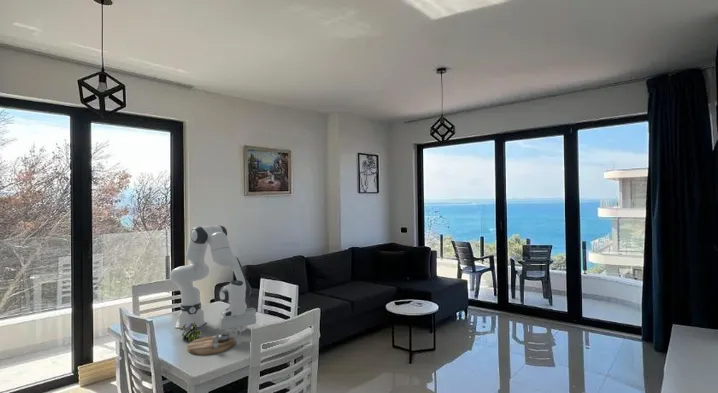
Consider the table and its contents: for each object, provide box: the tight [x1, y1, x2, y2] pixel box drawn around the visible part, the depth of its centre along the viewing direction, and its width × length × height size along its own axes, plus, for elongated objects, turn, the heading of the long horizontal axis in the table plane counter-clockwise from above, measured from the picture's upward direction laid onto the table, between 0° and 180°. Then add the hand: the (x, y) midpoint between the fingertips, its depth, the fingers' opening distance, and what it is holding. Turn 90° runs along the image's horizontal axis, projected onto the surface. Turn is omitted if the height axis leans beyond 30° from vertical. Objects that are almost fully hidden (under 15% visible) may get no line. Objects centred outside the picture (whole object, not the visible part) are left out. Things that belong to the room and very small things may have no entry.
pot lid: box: [215, 332, 230, 343], centre depth 223 cm, size 7×7×3 cm
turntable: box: [187, 334, 235, 356], centre depth 220 cm, size 24×24×8 cm
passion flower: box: [180, 322, 203, 343], centre depth 233 cm, size 11×11×12 cm
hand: (238, 334), depth 228 cm, fingers closed
